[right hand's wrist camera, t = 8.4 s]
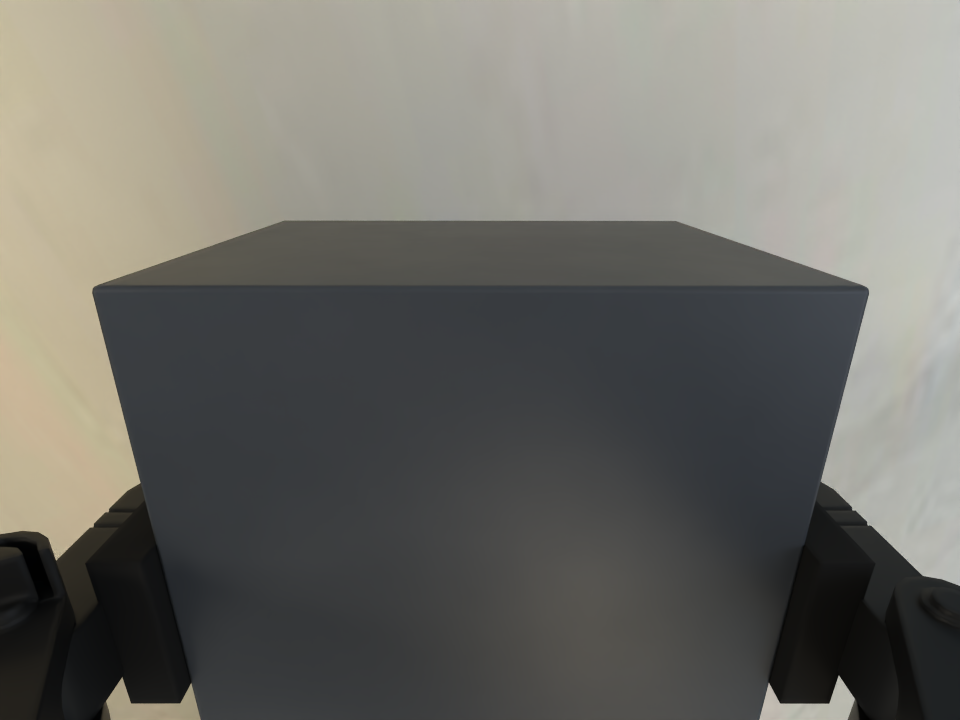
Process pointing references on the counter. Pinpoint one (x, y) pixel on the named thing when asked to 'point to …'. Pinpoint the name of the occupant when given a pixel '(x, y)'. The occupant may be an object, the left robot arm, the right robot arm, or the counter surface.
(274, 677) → the thick board
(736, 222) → the counter surface
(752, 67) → the counter surface
